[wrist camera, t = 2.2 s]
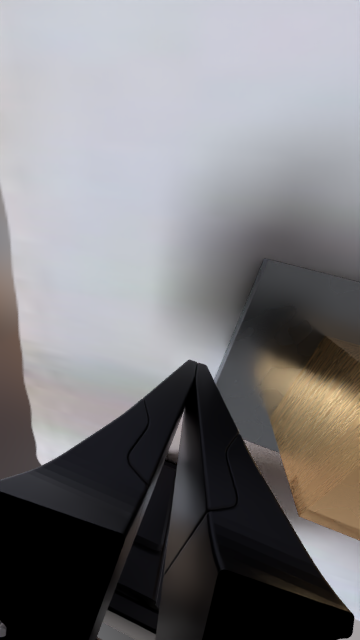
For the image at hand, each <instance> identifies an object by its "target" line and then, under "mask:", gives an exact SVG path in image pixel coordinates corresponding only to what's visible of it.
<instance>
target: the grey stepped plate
mask: <svg viewBox="0 0 360 640" xmlns="http://www.w3.org/2000/svg"><path fill="white" fill-rule="evenodd" d="M324 336H329V337H332V338H336V339H339V340H343V341H346V342H350V343H353V344H356V345H360V282H357V281H353V280H349V279H345V278H341V277H337V276H333V275H329V274H325V273H321V272H317V271H313V270H309V269H306V268H302V267H298V266H294V265H290V264H286V263H282V262H278V261H274V260H270V259H264V260H263V263H262V265H261V268H260V270H259V273H258V275H257V277H256V280H255V282H254V285H253V287H252V289H251V292H250V294H249V297H248V299H247V302H246V304H245V306H244V309H243V311H242V314H241V316H240V319H239V321H238V323H237V326H236V328H235V331H234V333H233V336H232V338H231V340H230V343H229V345H228V348H227V350H226V352H225V355H224V357H223V360H222V362H221V365H220V367H219V369H218V372H217V374H216V377H215V379H214V382H215V384H216V386H217V388H218V390H219V392H220V394H221V396H222V398H223V400H224V402H225V404H226V406H227V408H228V410H229V412H230V414H231V416H232V418H233V420H234V422H235V424H236V427H237V429H238V431H239V434H240V435H241V436H242V439H243V440H246V441H249V442H252V443H254V444H257V445H260V446H263V447H265V448H268V449H271V450H274V451H276V452H279V449H278V445H277V442H276V439H275V435H274V432H273V429H272V425H271V422H270V419H269V418H270V416H271V415H272V414H273V412H274V411H275V409H276V408H277V406H278V405H279V403H280V402H281V400H282V399H283V397H284V396H285V394H286V393H287V391H288V390H289V388H290V387H291V385H292V384H293V382H294V381H295V379H296V378H297V376H298V375H299V373H300V372H301V370H302V369H303V367H304V366H305V364H306V363H307V362H308V360H309V359H310V357H311V356H312V354H313V353H314V351H315V350H316V348H317V347H318V345H319V344H320V342H321V341H322V339H323V338H324ZM279 453H280V452H279Z"/></svg>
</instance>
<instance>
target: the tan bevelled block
mask: <svg viewBox="0 0 360 640" xmlns="http://www.w3.org/2000/svg"><path fill="white" fill-rule="evenodd" d="M269 419H270V422H271V425H272V429H273V432H274V435H275V439H276V442H277V445H278V449H279V452H280V455H281V458H282V462H283V465H284V468H285V472H286V475H287V478H288V482H289V485H290V488H291V492H292V495H293V498H294V502H295V505H296V508H297V512H298V515H299V517H302V518H304V519H307V520H309V521H312V522H314V523H317V524H319V525H322V526H325V527H327V528H330V529H332V530H335V531H337V532H340V533H342V534H345V535H347V536H350V537H352V538H355V539H357V540H360V345H356V344H353V343H350V342H346V341H343V340H339V339H336V338H332V337H329V336H324V338H323V339H322V341H321V342H320V344H319V345H318V347H317V348H316V350H315V351H314V353H313V354H312V356H311V357H310V359H309V360H308V362H307V363H306V364H305V366H304V367H303V369H302V370H301V372H300V373H299V375H298V376H297V378H296V379H295V381H294V382H293V384H292V385H291V387H290V388H289V390H288V391H287V393H286V394H285V396H284V397H283V399H282V400H281V402H280V403H279V405H278V406H277V408H276V409H275V411H274V412H273V414H272V415H271V416H270V418H269Z"/></svg>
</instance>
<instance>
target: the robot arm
mask: <svg viewBox="0 0 360 640" xmlns="http://www.w3.org/2000/svg"><path fill="white" fill-rule="evenodd" d="M183 412H184V415H183V423H182V431H181V439H180V447H179V455H178V463H177V466H176V465H174V464H171V463H168V462H166V461H165V459H166V456H167V453H168V451H169V448H170V446H171V443H172V441H173V438H174V435H175V433H176V430H177V428H178V425H179V422H180V420H181V417H182V414H183ZM102 622H103V623H105V624H107V625H108V626H110V627H112V628H114V629H116V630H118V631H120V632H122V633H124V634H126V635H128V636H130V637H132V638H134V639H135V640H338V639H343V638H349V637H350V636H351V635H352V633H353V625H354V615H353V614H352V613H351V612H350V610H349V609H348V608H347V607H346V606H345V604H344V603H343V602H342V601H341V600H340V598H339V597H338V596H337V595H336V593H335V592H334V591H333V589H332V588H331V587H330V585H329V584H328V583H327V581H326V580H325V578H324V577H323V576H322V574H321V573H320V571H319V570H318V568H317V567H316V565H315V564H314V562H313V560H312V559H311V557H310V556H309V554H308V552H307V551H306V549H305V547H304V546H303V544H302V542H301V541H300V539H299V537H298V536H297V534H296V532H295V531H294V529H293V527H292V525H291V524H290V522H289V520H288V519H287V517H286V515H285V514H284V512H283V510H282V509H281V507H280V505H279V504H278V502H277V500H276V498H275V497H274V495H273V493H272V492H271V490H270V488H269V487H268V485H267V483H266V481H265V480H264V478H263V476H262V474H261V473H260V471H259V469H258V467H257V466H256V464H255V462H254V460H253V458H252V456H251V454H250V452H249V450H248V449H247V447H246V445H245V443H244V441H243V439H242V436H241V435H240V434H239V431H238V429H237V427H236V424H235V422H234V420H233V418H232V416H231V414H230V412H229V410H228V408H227V406H226V404H225V402H224V400H223V398H222V396H221V394H220V392H219V390H218V388H217V386H216V384H215V382H214V380H213V378H212V376H211V374H210V372H209V370H208V367H207V366H206V365H204V364H201V363H197V362H195V361H192V360H188V361H187V362H185V363H184V364H183V365H182V366H181V367H179V368H178V369H177V370H176V371H175V372H173V373H172V374H171V375H170V376H169V377H167V378H166V379H165V380H164V381H163V382H162V383H160V384H159V385H158V386H157V387H156V388H154V389H153V390H152V391H151V392H150V393H148V394H147V395H146V396H145V397H144V398H143V399H141V400H140V401H139V402H138V403H136V404H135V405H134V406H133V407H131V408H130V409H129V410H128V411H126V412H125V413H124V414H123V415H121V416H120V417H118V418H117V419H115V420H114V421H112V422H111V423H109V424H108V425H106V426H105V427H103V428H102V429H100V430H99V431H97V432H96V433H94V434H93V435H91V436H90V437H88V438H87V439H85V440H84V441H82V442H81V443H79V444H77V445H76V446H74V447H73V448H71V449H70V450H68V451H67V452H65V453H64V454H62V455H60V456H59V457H57V458H55V459H54V460H52V461H50V462H48V463H46V464H44V465H42V466H40V467H37V468H35V469H32V470H30V471H27V472H24V473H21V474H18V475H14V476H11V477H8V478H4V479H1V480H0V640H101V639H100V638H98V637H97V635H98V632H99V630H100V627H101V624H102Z"/></svg>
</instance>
